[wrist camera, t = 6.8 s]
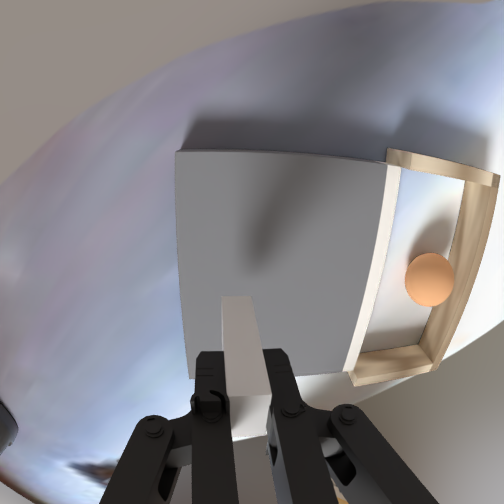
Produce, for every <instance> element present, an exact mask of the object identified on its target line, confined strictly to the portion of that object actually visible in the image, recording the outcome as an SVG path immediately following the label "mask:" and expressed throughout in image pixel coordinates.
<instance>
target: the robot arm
mask: <svg viewBox="0 0 504 504" xmlns="http://www.w3.org/2000/svg"><path fill="white" fill-rule="evenodd" d="M222 349H223V351H201V352H200V354H199V355H198V357H197V358H196V370H195V393H194V394H193V395H192V397H191V400H190V404H191V411H190V412H189V413H188V414H186V415H185V416H183V417H180V418H176V419H172V420H167V419H166V418H164V417H162V416H158V415H151V416H146V417H144V418H143V419H141V420H140V421H139V422H138V423H137V425H136V427H135V429H134V431H133V433H132V435H131V437H130V439H129V441H128V443H127V445H126V447H125V450H124V452H123V454H122V456H121V458H120V460H119V462H118V464H117V466H116V468H115V471H114V473H113V475H112V477H111V479H110V481H109V483H108V485H107V488H106V490H105V492H104V494H103V496H102V498H101V501H100V503H99V504H170V501H171V498H172V495H173V492H174V489H175V486H176V483H177V480H178V476H179V474H180V471H181V468H182V466H186V465H190V464H192V504H239V500H238V491H237V483H236V473H235V463H234V454H233V443H232V437H246V436H262V435H266V430H267V435H268V443H267V449H266V455H269V459H270V464H271V470H272V475H273V481H274V486H275V491H276V497H277V502H278V504H339V502H338V499H337V496H336V493H335V489H334V486H333V483H332V480H331V478H332V479H333V481H334V483H335V484H336V486H337V487H338V489H339V490H340V492H341V493H342V495H343V496H344V498H345V499H346V501H347V502H348V504H439V503H438V502H437V501H436V499H434V497H433V496H432V495H431V493H430V492H429V491H428V490H427V489H426V487H425V486H424V485H423V484H422V483H421V482H420V480H418V478H417V477H416V476H415V474H414V473H413V472H412V471H411V470H410V468H409V467H408V466H407V465H406V464H405V462H404V461H403V460H402V459H401V458H400V456H399V455H398V454H397V453H396V452H395V450H394V449H393V448H392V447H391V445H390V444H389V443H388V442H387V441H386V439H385V438H384V437H383V436H382V434H381V433H380V432H379V431H378V430H377V428H376V427H375V426H374V425H373V424H372V422H371V421H370V420H369V419H368V417H367V416H366V415H365V414H364V412H363V411H362V410H361V409H359V408H358V407H357V406H354V405H352V404H342V405H338V406H337V407H335V408H334V409H333V411H327V410H319V409H314V408H312V407H310V406H308V405H307V404H306V403H305V402H304V401H303V400H302V398H301V396H300V393H299V390H298V387H297V383H296V380H295V377H294V373H293V370H292V367H291V364H290V360H289V357H288V355H287V354H286V353H285V352H284V351H283V350H282V349H281V348H273V349H262V346H261V341H260V336H259V332H258V327H257V322H256V317H255V313H254V308H253V303H252V298H251V296H222ZM17 433H18V428H17V425H16V423H15V421H14V420H13V418H12V417H11V415H10V414H9V413H8V411H7V410H6V409H5V408H4V407H3V406H2V405H1V403H0V455H1V454H2V452H3V451H4V450H5V449H6V447H7V446H10V445H12V444H13V442H14V440H15V438H16V436H17Z"/></svg>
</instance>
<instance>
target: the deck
mask: <svg viewBox="0 0 504 504" xmlns="http://www.w3.org/2000/svg"><path fill="white" fill-rule="evenodd" d="M400 173H401V167H400V166H396V165H393V164H390V163H386V162H380V161H373V160H365V159H358V158H349V157H341V156H331V155H321V154H310V153H297V152H282V151H264V150H236V149H180V150H178V151H176V152H175V207H176V235H177V254H178V270H179V285H180V297H181V309H182V320H183V330H184V339H185V348H186V357H187V365H188V373H189V379H195V370H196V358H197V357H198V355H199V354H200V352H201V351H223V349H222V296H251V298H252V303H253V308H254V313H255V317H256V322H257V327H258V332H259V336H260V341H261V346H262V349H273V348H281V349H282V350H283V351H284V352H285V353H286V354H287V355H288V357H289V360H290V364H291V367H292V370H293V373H294V377H295V376H307V375H318V374H327V373H336V372H344V371H352V370H354V367H355V364H356V361H357V358H358V355H359V352H360V349H361V346H362V343H363V340H364V337H365V333H366V330H367V327H368V324H369V320H370V317H371V313H372V310H373V306H374V303H375V299H376V295H377V291H378V287H379V283H380V279H381V275H382V271H383V267H384V263H385V258H386V254H387V249H388V244H389V239H390V234H391V229H392V224H393V218H394V213H395V207H396V201H397V194H398V188H399V181H400Z"/></svg>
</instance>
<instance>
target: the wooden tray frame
mask: <svg viewBox="0 0 504 504" xmlns="http://www.w3.org/2000/svg"><path fill="white" fill-rule="evenodd" d="M386 163H390V164H393V165H396V166H400V167H403V168H406V169H409V170H414V171H420V172H426V173H431V174H436V175H441V176H446V177H451V178H456V179H461V180H465V186H464V192H463V197H462V203H461V208H460V213H459V218H458V222H457V227H456V231H455V235H454V239H453V243H452V247H451V251H450V255H449V258H448V262H449V263H450V265H451V266H452V269H453V272H454V286H453V289H452V292H451V294H450V295H449V297H448V298H447V299H446V300H445V301H444V302H442V303H441V304H439V305H436V306H433V308H432V311H431V314H430V316H429V319H428V322H427V324H426V327H425V329H424V332H423V334H422V337H421V339H420V342H419V344H417V345H411V346H405V347H399V348H393V349H386V350H379V351H372V352H364V353H359V355H358V358H357V361H356V364H355V367H354V370H352V371H347V372H348V374H349V377H350V379H351V381H352V383H353V385H354V387H356V386H363V385H368V384H374V383H380V382H385V381H390V380H395V379H400V378H404V377H409V376H413V375H417V374H421V373H425V372H430V371H434V370H436V369H437V368H438V366H439V364H440V362H441V360H442V358H443V356H444V354H445V352H446V350H447V348H448V346H449V344H450V342H451V339H452V337H453V335H454V333H455V331H456V328H457V326H458V324H459V321H460V319H461V316H462V314H463V312H464V309H465V306H466V304H467V301H468V299H469V296H470V293H471V290H472V288H473V285H474V282H475V279H476V276H477V273H478V270H479V267H480V263H481V260H482V257H483V253H484V250H485V246H486V243H487V239H488V235H489V231H490V227H491V223H492V218H493V214H494V209H495V204H496V199H497V193H498V188H499V181H500V175H498V174H495V173H492V172H488V171H485V170H482V169H479V168H475V167H472V166H468V165H464V164H461V163H457V162H453V161H449V160H445V159H440V158H436V157H432V156H427V155H423V154H418V153H413V152H408V151H403V150H397V149H392V148H387V155H386Z"/></svg>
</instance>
